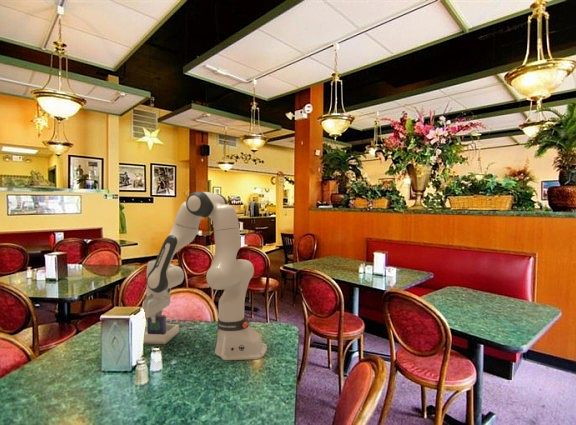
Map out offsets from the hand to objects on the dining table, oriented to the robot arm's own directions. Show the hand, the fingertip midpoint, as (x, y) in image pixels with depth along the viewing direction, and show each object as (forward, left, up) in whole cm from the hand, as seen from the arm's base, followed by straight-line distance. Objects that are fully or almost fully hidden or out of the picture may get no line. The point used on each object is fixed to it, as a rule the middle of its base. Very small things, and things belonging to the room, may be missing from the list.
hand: (156, 320), depth 152 cm
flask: (0, 0, -7) cm, 7 cm away
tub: (0, 0, -8) cm, 8 cm away
